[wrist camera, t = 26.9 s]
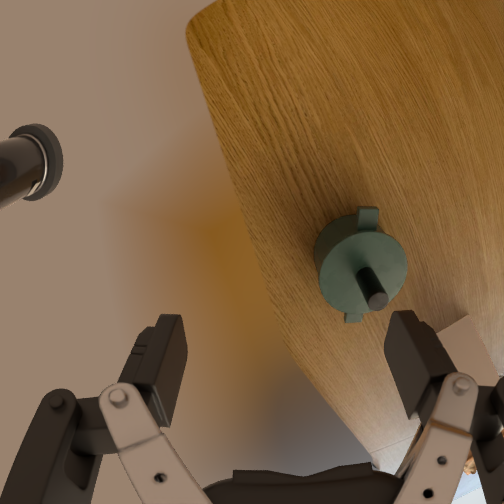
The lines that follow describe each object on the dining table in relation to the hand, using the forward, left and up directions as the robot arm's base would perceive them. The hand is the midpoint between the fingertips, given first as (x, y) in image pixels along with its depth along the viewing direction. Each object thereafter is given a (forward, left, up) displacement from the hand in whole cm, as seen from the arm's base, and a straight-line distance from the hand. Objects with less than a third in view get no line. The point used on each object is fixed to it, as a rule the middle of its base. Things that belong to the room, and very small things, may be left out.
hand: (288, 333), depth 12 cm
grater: (+34, -31, -30) cm, 55 cm away
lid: (+11, -11, -24) cm, 28 cm away
